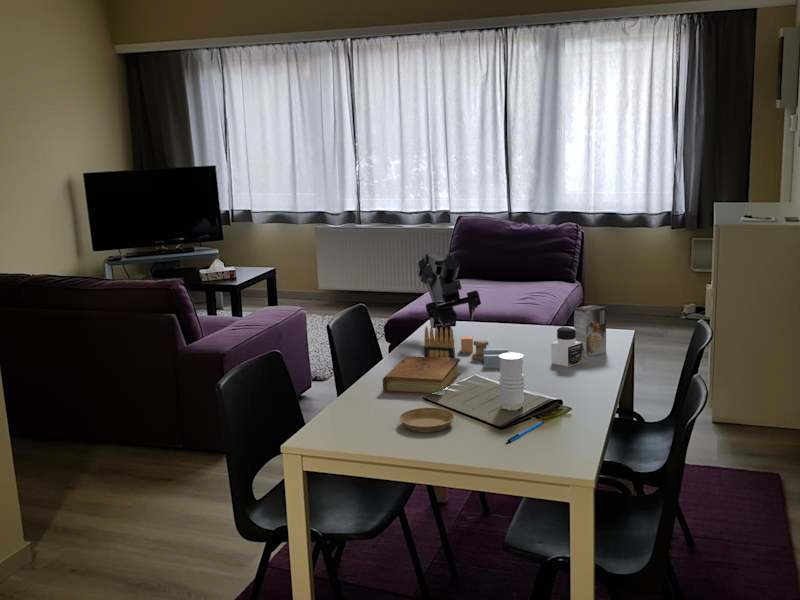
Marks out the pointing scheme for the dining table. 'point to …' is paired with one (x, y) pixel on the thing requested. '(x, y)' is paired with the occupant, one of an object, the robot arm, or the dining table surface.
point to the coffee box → (591, 329)
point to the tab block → (466, 343)
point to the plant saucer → (426, 419)
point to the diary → (421, 375)
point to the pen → (524, 432)
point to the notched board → (493, 357)
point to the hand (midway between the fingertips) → (458, 323)
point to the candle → (511, 378)
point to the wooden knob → (479, 349)
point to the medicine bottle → (566, 348)
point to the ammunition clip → (445, 344)
